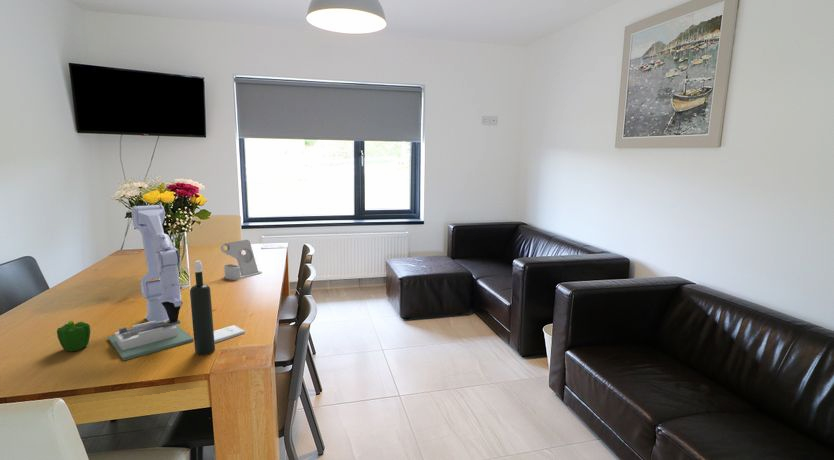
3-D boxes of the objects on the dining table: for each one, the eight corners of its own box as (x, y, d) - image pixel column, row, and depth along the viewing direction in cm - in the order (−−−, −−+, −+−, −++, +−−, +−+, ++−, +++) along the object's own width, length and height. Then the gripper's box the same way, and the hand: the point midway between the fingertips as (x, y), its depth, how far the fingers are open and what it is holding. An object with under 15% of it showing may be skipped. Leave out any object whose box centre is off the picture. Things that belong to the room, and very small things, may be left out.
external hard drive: (199, 339, 147) (233, 328, 156) (210, 346, 142) (245, 334, 151) (198, 334, 147) (233, 324, 156) (209, 341, 142) (244, 330, 151)
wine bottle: (191, 352, 136) (183, 261, 131) (208, 346, 141) (201, 258, 136) (201, 357, 133) (193, 264, 128) (218, 350, 138) (211, 260, 133)
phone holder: (234, 280, 215) (231, 246, 212) (222, 277, 221) (219, 243, 218) (262, 273, 230) (261, 240, 227) (251, 270, 235) (249, 238, 232)
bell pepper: (71, 343, 142) (67, 314, 140) (97, 342, 143) (93, 314, 141) (52, 354, 134) (47, 324, 132) (79, 354, 134) (75, 324, 133)
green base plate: (108, 339, 145) (106, 323, 144) (172, 323, 159) (171, 309, 159) (123, 360, 130) (121, 343, 129) (193, 341, 144) (191, 325, 143)
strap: (124, 336, 138) (124, 334, 137) (122, 333, 140) (121, 330, 140) (180, 323, 149) (180, 321, 149) (176, 320, 152) (176, 318, 152)
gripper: (151, 282, 149) (154, 318, 151) (163, 291, 139) (167, 330, 141) (173, 278, 154) (176, 313, 156) (186, 286, 144) (190, 324, 146)
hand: (173, 321), depth 149 cm, fingers closed, pressing on strap
